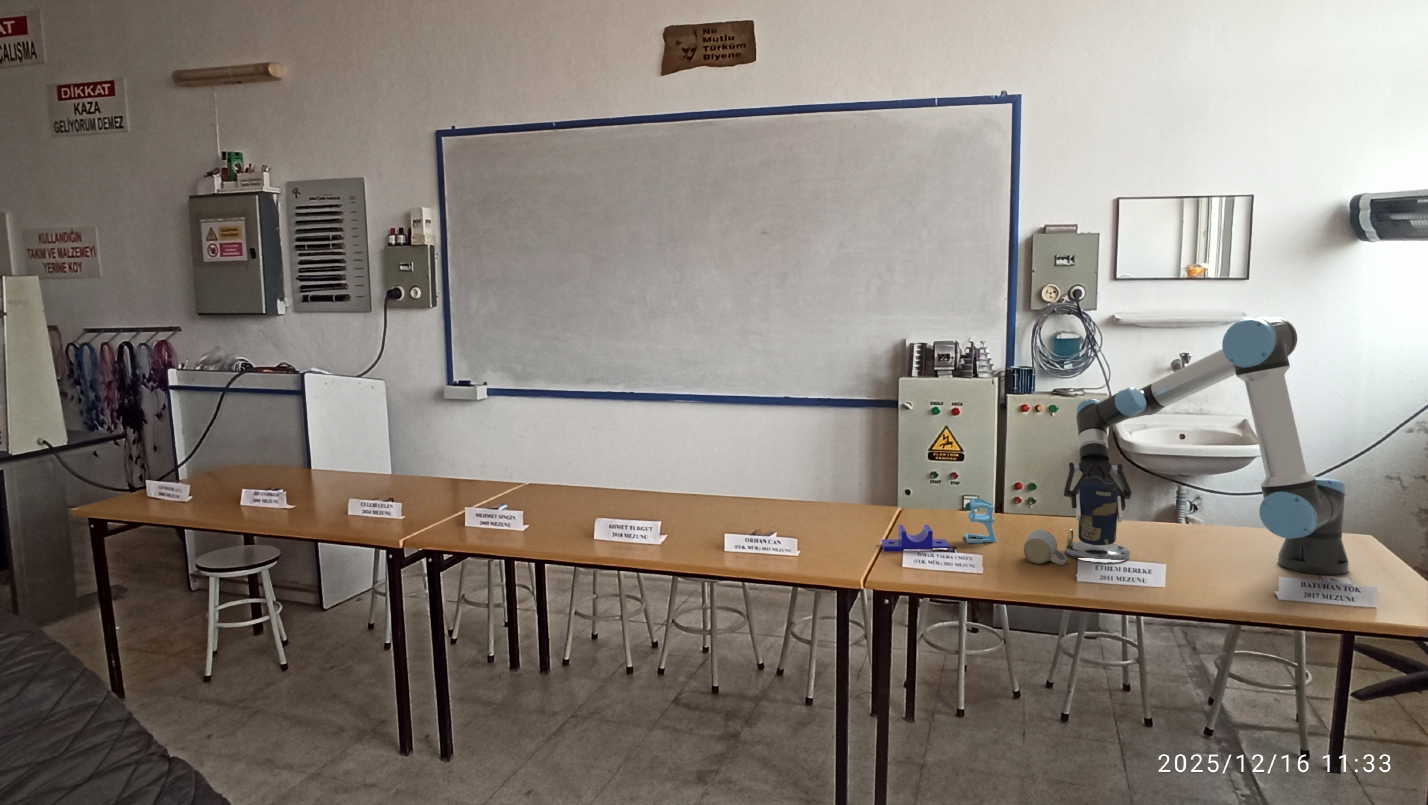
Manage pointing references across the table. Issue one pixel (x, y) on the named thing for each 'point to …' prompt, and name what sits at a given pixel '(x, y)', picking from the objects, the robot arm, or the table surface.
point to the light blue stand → (981, 521)
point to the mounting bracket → (914, 540)
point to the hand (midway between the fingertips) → (1099, 518)
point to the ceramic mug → (1043, 548)
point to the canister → (1098, 511)
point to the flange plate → (1094, 550)
